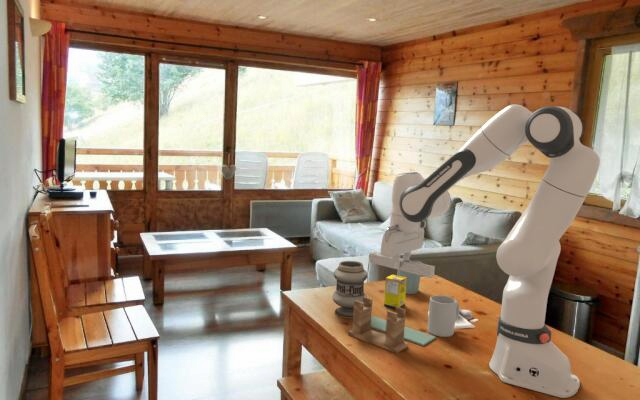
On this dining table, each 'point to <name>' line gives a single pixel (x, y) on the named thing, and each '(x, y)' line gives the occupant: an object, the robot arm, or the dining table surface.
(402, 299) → the supplement box
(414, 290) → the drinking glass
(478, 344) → the dining table surface
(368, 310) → the rack
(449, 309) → the mug
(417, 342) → the mat
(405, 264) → the rail
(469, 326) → the cloth
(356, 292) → the apothecary jar
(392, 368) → the dining table surface
